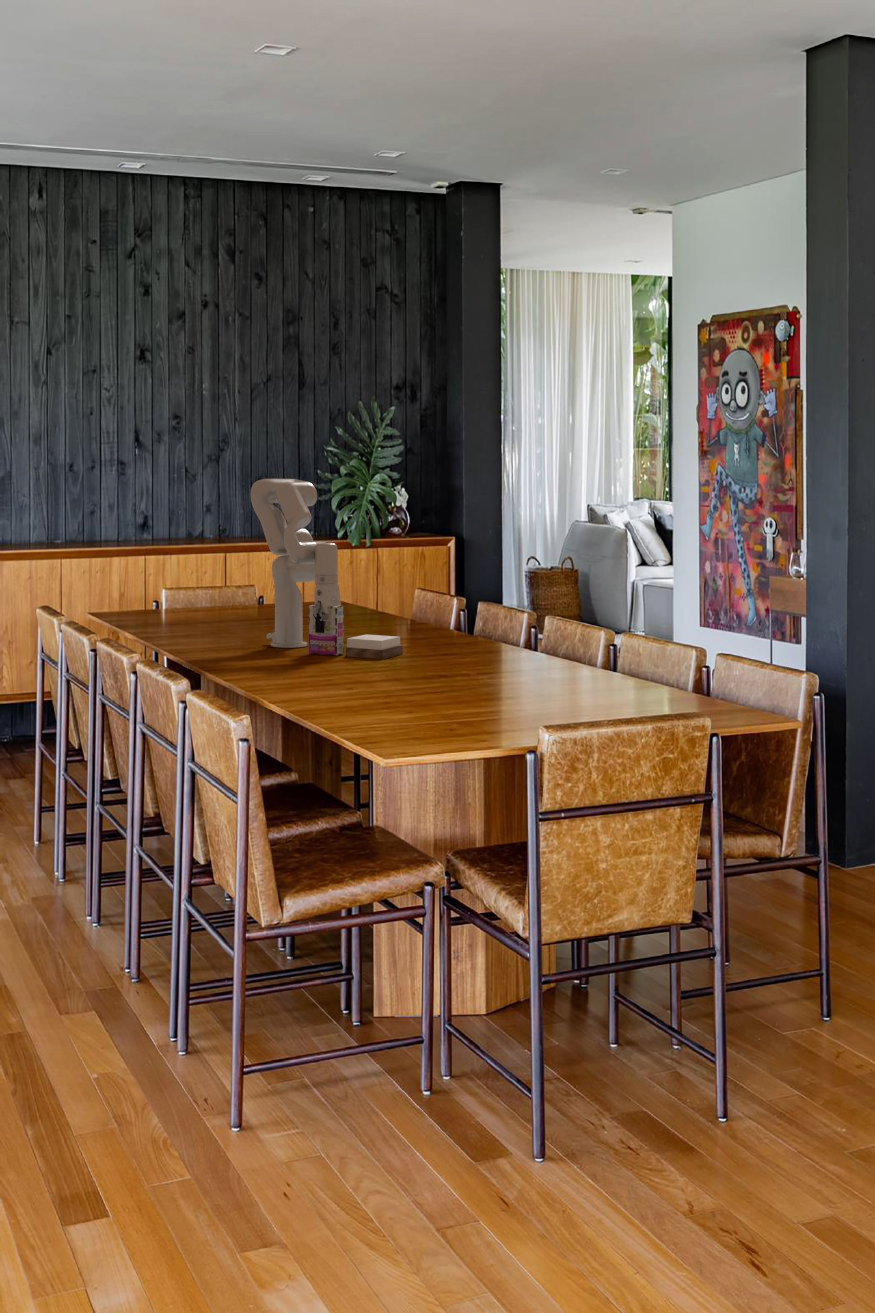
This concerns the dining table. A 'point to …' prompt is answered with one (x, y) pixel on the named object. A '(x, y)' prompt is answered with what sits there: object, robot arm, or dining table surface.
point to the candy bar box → (327, 633)
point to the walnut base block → (374, 652)
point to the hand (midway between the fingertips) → (327, 631)
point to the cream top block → (373, 642)
